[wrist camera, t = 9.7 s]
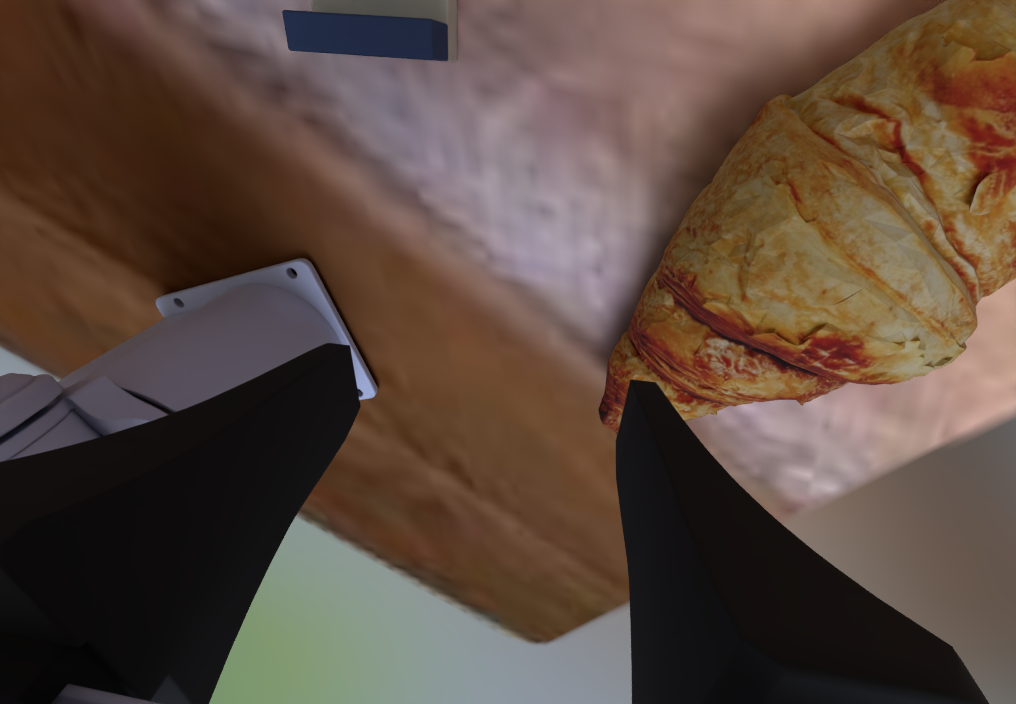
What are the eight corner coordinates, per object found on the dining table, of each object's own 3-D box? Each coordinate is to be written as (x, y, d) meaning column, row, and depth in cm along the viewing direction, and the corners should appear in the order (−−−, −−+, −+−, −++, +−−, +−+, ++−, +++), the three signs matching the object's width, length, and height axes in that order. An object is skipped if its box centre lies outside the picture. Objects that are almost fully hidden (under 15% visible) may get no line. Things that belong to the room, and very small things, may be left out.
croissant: (1014, -119, 14) (1246, -471, 7) (1347, 78, 12) (2124, -156, 5) (569, 334, 24) (492, 366, 17) (705, 483, 22) (677, 584, 15)
